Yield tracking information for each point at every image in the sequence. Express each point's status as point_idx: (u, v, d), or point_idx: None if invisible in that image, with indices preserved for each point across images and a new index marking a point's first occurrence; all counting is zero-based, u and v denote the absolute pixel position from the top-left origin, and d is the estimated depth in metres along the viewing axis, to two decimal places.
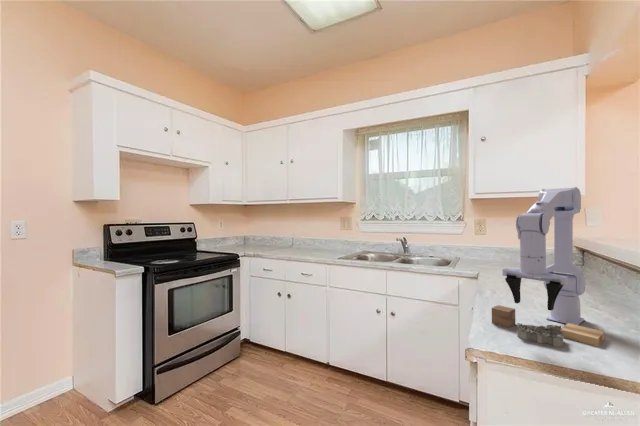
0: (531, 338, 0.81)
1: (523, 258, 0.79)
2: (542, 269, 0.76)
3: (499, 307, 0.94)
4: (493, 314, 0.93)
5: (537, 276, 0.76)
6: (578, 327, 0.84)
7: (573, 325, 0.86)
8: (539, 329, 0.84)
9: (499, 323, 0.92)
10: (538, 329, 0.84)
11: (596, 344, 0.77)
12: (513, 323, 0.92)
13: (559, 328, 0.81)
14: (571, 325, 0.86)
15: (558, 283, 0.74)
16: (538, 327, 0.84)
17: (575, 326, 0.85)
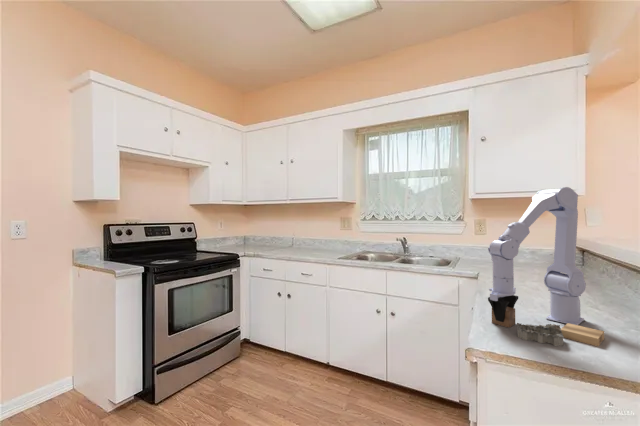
0: (531, 338, 0.81)
1: None
2: (495, 286, 0.93)
3: None
4: (493, 314, 0.93)
5: (492, 291, 0.94)
6: (578, 327, 0.84)
7: (573, 325, 0.86)
8: (538, 329, 0.85)
9: (499, 323, 0.92)
10: (537, 329, 0.85)
11: (596, 344, 0.77)
12: (513, 323, 0.92)
13: (558, 327, 0.82)
14: (570, 325, 0.86)
15: None
16: (537, 327, 0.85)
17: (575, 326, 0.85)
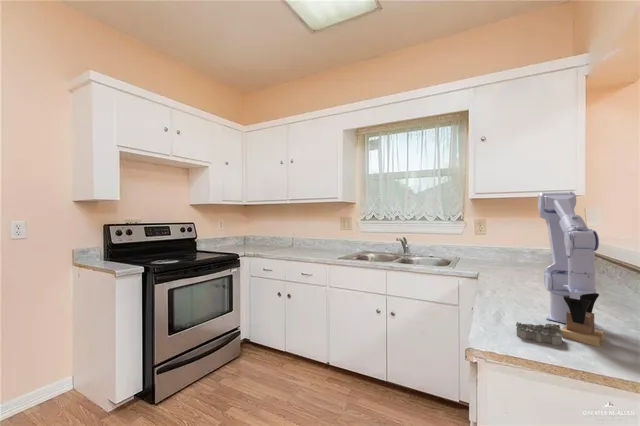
0: (530, 337, 0.82)
1: None
2: (573, 283, 0.82)
3: None
4: (568, 319, 0.83)
5: (567, 288, 0.83)
6: None
7: None
8: (538, 328, 0.85)
9: (576, 330, 0.81)
10: (537, 328, 0.85)
11: (597, 344, 0.77)
12: (593, 330, 0.81)
13: (558, 327, 0.82)
14: None
15: None
16: (537, 326, 0.85)
17: None
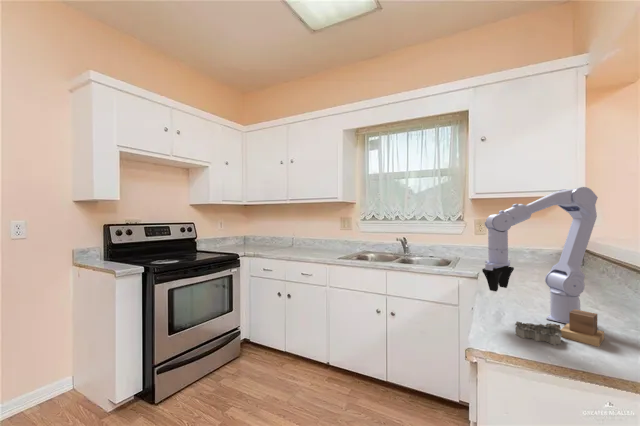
0: (529, 336, 0.82)
1: None
2: (490, 258, 0.98)
3: (578, 312, 0.83)
4: (571, 319, 0.82)
5: (487, 262, 0.99)
6: None
7: None
8: (539, 328, 0.85)
9: (579, 330, 0.81)
10: (537, 327, 0.85)
11: (597, 344, 0.77)
12: (596, 331, 0.81)
13: (558, 327, 0.82)
14: None
15: None
16: (537, 326, 0.85)
17: None
